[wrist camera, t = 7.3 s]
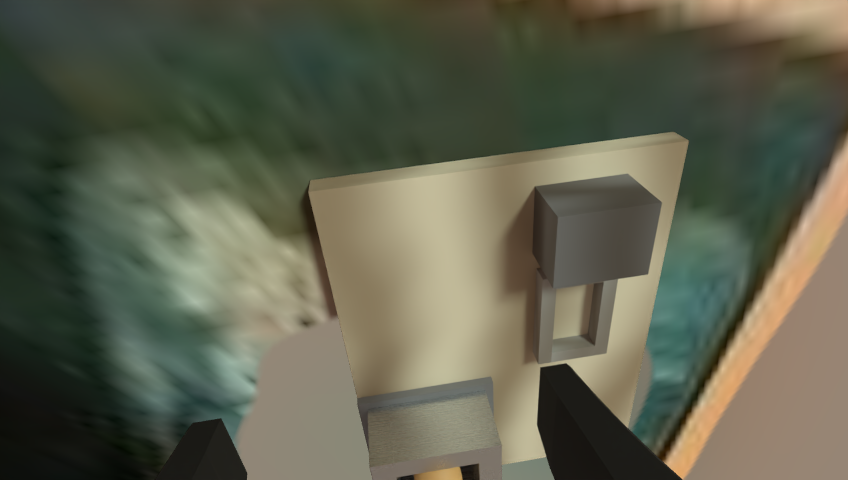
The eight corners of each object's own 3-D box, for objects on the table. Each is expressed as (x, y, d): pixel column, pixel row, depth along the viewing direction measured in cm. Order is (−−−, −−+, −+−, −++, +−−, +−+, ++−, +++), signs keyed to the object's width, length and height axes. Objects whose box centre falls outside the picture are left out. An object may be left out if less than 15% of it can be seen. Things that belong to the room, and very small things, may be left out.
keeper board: (377, 469, 28) (380, 531, 25) (310, 180, 18) (302, 226, 15) (616, 428, 28) (646, 483, 26) (673, 131, 19) (731, 166, 16)
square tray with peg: (376, 477, 26) (381, 573, 22) (357, 398, 23) (358, 494, 19) (492, 457, 27) (517, 548, 23) (491, 376, 23) (520, 466, 19)
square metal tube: (383, 478, 26) (386, 537, 23) (367, 408, 23) (369, 467, 20) (486, 460, 26) (501, 517, 24) (485, 389, 23) (501, 445, 21)
